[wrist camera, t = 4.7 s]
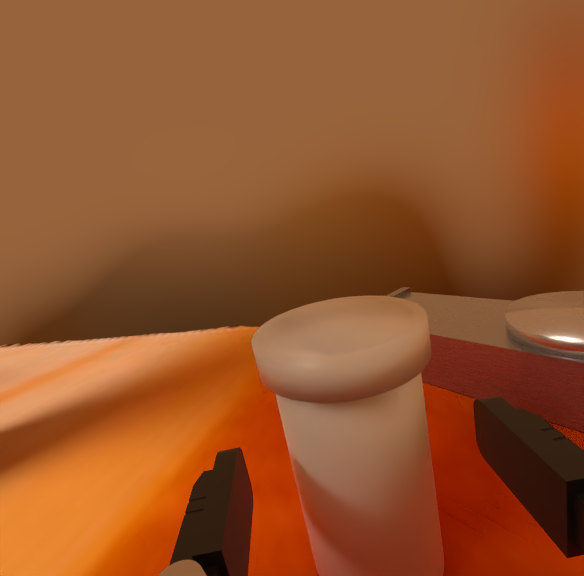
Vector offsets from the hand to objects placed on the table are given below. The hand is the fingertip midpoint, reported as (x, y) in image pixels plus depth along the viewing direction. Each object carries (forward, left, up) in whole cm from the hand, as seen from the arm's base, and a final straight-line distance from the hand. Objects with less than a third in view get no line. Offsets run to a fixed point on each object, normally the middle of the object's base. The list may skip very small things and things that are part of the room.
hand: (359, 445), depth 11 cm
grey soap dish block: (-3, +17, -6) cm, 18 cm away
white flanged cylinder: (-1, +1, -6) cm, 6 cm away
